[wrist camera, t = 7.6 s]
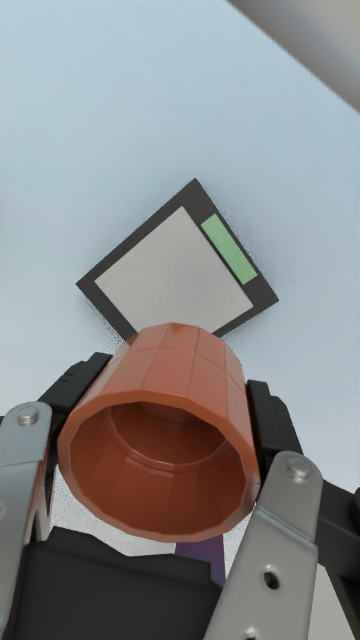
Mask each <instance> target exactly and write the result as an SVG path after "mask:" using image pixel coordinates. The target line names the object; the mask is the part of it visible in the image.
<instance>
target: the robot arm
mask: <svg viewBox="0 0 360 640" xmlns="http://www.w3.org/2000/svg"><path fill="white" fill-rule="evenodd" d="M112 358H113V355H111V354H105V353H99V352H95V353H94V354H93V355H92V356H91V357H90V358H89V360H88V361H87V362H85V361H80V362H78V363H76V364H74V365H72V366H71V367H70V368H69V369H68V370H67V371H66V372H65V373H64V375H62V376H61V377H60V378H59V379H58V381H56V382H55V383H54V384H53V385H52V386H51V387H50V388H49V389H48V390H47V391H46V392H45V393H44V394H43V395H42V396H41V397H40V398H39V399H38V400H37V401H34V402H27V403H23V404H20V405H18V406H16V407H14V408H12V409H11V410H10V411H9V412H7V414H6V415H5V416H0V640H308V632H309V623H310V617H311V609H312V601H313V593H314V586H315V578H316V570H317V563H319V564H320V565H322V566H324V567H325V568H326V571H327V573H328V576H329V578H330V580H331V583H332V585H333V588H334V590H335V592H336V595H337V597H338V599H339V602H340V604H341V607H342V609H343V611H344V614H345V616H346V619H347V621H348V623H349V625H350V628H351V630H352V633H353V635H354V638H355V640H360V487H359V488H358V489H357V490H356V492H355V494H352V493H350V492H348V491H346V490H344V489H341V488H339V487H337V486H335V485H333V484H331V483H329V482H327V481H326V480H324V479H323V478H322V475H321V473H320V471H319V469H318V468H317V467H316V465H315V464H314V463H313V462H312V461H311V460H309V459H308V458H307V457H305V456H304V454H303V452H302V449H301V446H300V443H299V440H298V437H297V435H296V432H295V429H294V426H293V423H292V421H291V418H290V415H289V412H288V409H287V406H286V405H285V404H284V403H283V402H282V401H281V399H280V398H279V397H277V396H271V395H270V392H269V388H268V385H267V383H266V382H261V381H255V380H250V379H249V380H248V381H247V384H246V387H247V393H248V399H249V406H250V412H251V418H252V424H253V430H254V436H255V443H256V449H257V455H258V461H259V468H260V474H261V480H262V481H261V483H262V484H261V487H260V489H259V492H258V495H257V498H256V506H255V507H254V510H253V512H252V515H251V518H250V520H249V523H248V525H247V528H246V531H245V533H244V536H243V538H242V541H241V543H240V546H239V549H238V551H237V554H236V556H235V559H234V562H233V564H232V567H231V569H230V572H229V575H228V577H227V580H226V582H225V585H224V587H223V586H221V585H220V584H219V583H217V582H216V581H214V580H213V579H211V563H210V562H206V561H201V560H197V559H193V558H189V557H184V556H180V555H176V554H172V553H169V554H157V555H144V556H125V555H123V554H122V553H120V552H118V551H117V550H115V549H114V548H112V547H110V546H109V545H107V544H106V543H104V542H102V541H101V540H99V539H97V538H96V537H94V536H93V535H91V534H87V533H82V532H78V531H74V530H70V529H66V528H61V527H57V526H53V528H52V530H51V532H50V521H51V513H52V504H53V496H54V488H55V480H56V466H57V464H58V452H57V438H58V436H59V434H60V432H61V430H62V428H63V426H64V424H65V422H66V420H67V418H68V416H69V414H70V413H71V412H72V410H73V409H74V408H75V406H76V405H77V404H78V402H79V401H80V400H81V398H82V397H83V396H84V395H85V393H86V392H87V391H88V389H89V388H90V387H91V385H92V384H93V383H94V381H95V380H96V379H97V377H98V376H99V375H100V373H101V372H102V371H103V370H104V368H105V367H106V366H107V364H108V363H109V362H110V360H111V359H112Z"/></svg>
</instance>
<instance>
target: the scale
mask: <svg viewBox="0 0 360 640" xmlns="http://www.w3.org/2000/svg"><path fill="white" fill-rule="evenodd" d="M76 285H77V286H78V287H79V289H80V290H81V291H82V292H83V293H84V294H85V296H86V297H87V298H88V299H89V300H90V301H91V302H92V304H93V305H94V306H95V307H96V308H97V309H98V310H99V312H100V313H101V314H102V315H103V316H104V317H105V319H106V320H107V321H108V322H109V323H110V324H111V325H112V327H113V328H114V329H115V330H116V331H117V332H118V334H119V335H120V336H121V337H122V338H123V339H124V340H125V341H126V340H128V339H129V338H130V337H132V336H133V335H135V334H136V333H137V332H139V331H140V330H142V329H143V328H146V327H150V326H155V325H160V324H164V323H169V322H170V323H171V322H175V323H181V324H187V325H193V326H199V328H203V329H204V330H206V331H208V332H209V333H211V334H213V335H215V336H216V337H218V338H220V337H221V336H223V335H225V334H226V333H228V332H229V331H231V330H233V329H234V328H236V327H237V326H239V325H241V324H242V323H244V322H246V321H247V320H249V319H250V318H252V317H254V316H255V315H257V314H258V313H260V312H262V311H263V310H265V309H267V308H268V307H270V306H271V305H273V304H275V303H276V302H278V301H279V299H278V297H277V296H276V294H275V293H274V291H273V290H272V289H271V287H270V286H269V284H268V283H267V281H266V280H265V278H264V277H263V275H262V274H261V272H260V271H259V270H258V268H257V267H256V265H255V264H254V262H253V261H252V259H251V258H250V256H249V255H248V253H247V252H246V251H245V249H244V248H243V246H242V245H241V243H240V242H239V240H238V239H237V237H236V236H235V234H234V233H233V232H232V230H231V229H230V227H229V226H228V224H227V223H226V221H225V220H224V218H223V217H222V215H221V214H220V213H219V211H218V210H217V208H216V207H215V205H214V204H213V202H212V201H211V199H210V198H209V196H208V195H207V194H206V192H205V191H204V189H203V188H202V186H201V185H200V183H199V182H198V180H197V179H196V178H194V179H193V180H192V181H191V182H190V183H188V184H187V185H186V186H185V187H184V188H183V189H182V190H181V191H179V192H178V193H177V194H176V195H175V196H174V197H173V198H172V199H170V200H169V201H168V202H167V203H166V204H165V205H164V206H163V207H161V208H160V209H159V210H158V211H157V212H156V213H155V214H153V215H152V216H151V217H150V218H149V219H148V220H147V221H146V222H144V223H143V224H142V225H141V226H140V227H139V228H138V229H137V230H135V231H134V232H133V233H132V234H131V235H130V236H129V237H128V238H126V239H125V240H124V241H123V242H122V243H121V244H120V245H119V246H117V247H116V248H115V249H114V250H113V251H112V252H111V253H109V254H108V255H107V256H106V257H105V258H104V259H103V260H102V261H100V262H99V263H98V264H97V265H96V266H95V267H94V268H93V269H91V270H90V271H89V272H88V273H87V274H86V275H85V276H84V277H82V278H81V279H80V280H79V281H78V282H77V283H76Z"/></svg>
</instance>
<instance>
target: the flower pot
mask: <svg viewBox="0 0 360 640" xmlns="http://www.w3.org/2000/svg"><path fill="white" fill-rule="evenodd" d="M57 452H58V467H59V471H60V473H61V474H62V476H63V478H64V480H65V482H66V483H67V485H68V487H69V489H70V491H71V492H72V494H73V496H74V497H75V498H76V499H77V500H78V501H79V502H80V503H82V504H83V505H84V506H85V507H86V508H87V509H88V510H89V511H90V512H91V513H93V514H94V515H95V516H96V517H97V518H99V519H100V520H102V521H104V522H106V523H108V524H110V525H112V526H113V527H115V528H117V529H119V530H121V531H123V532H125V533H127V534H130V535H133V536H137V537H141V538H146V539H150V540H154V541H159V542H165V543H176V542H198V541H199V542H200V541H203V540H206V539H209V538H212V537H215V536H218V535H221V534H224V533H227V532H229V531H231V530H232V529H233V528H234V527H235V526H236V525H237V524H239V523H240V522H241V521H242V520H243V519H244V518H245V517H246V516H248V515H249V514H250V513H251V512H252V510H253V507H254V504H255V501H256V498H257V495H258V492H259V489H260V487H261V484H262V483H261V481H262V480H261V474H260V468H259V461H258V455H257V449H256V443H255V436H254V430H253V424H252V418H251V412H250V406H249V399H248V393H247V387H246V382H245V377H244V373H243V369H242V365H241V363H240V360H239V359H238V358H237V357H236V355H235V354H234V353H233V351H232V350H231V349H230V347H229V346H228V345H227V344H226V343H225V342H224V341H223V340H221V339H220V338H218V337H216V336H215V335H213V334H211V333H209V332H208V331H206V330H204V329H203V328H199V326H193V325H187V324H181V323H175V322H171V323H170V322H169V323H164V324H160V325H155V326H150V327H146V328H143V329H142V330H140V331H139V332H137V333H136V334H135V335H133V336H132V337H130V338H129V339H128V340H126V341H125V342H124V343H123V344H122V346H121V347H120V348H119V350H118V351H117V352H116V354H115V355H114V356H113V358H112V359H111V360H110V362H109V363H108V364H107V366H106V367H105V368H104V370H103V371H102V372H101V373H100V375H99V376H98V377H97V379H96V380H95V381H94V383H93V384H92V385H91V387H90V388H89V389H88V391H87V392H86V393H85V395H84V396H83V397H82V398H81V400H80V401H79V402H78V404H77V405H76V406H75V408H74V409H73V410H72V412H71V413H70V414H69V416H68V418H67V420H66V422H65V424H64V426H63V428H62V430H61V432H60V434H59V436H58V438H57Z"/></svg>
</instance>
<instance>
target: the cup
mask: <svg viewBox="0 0 360 640" xmlns="http://www.w3.org/2000/svg"><path fill="white" fill-rule="evenodd" d="M174 554H176V555H180V556H184V557H189V558H193V559H197V560H201V561H206V562H210V563H211V579H213V580H214V581H216V582H217V583H219V584H220V585H221V586H223V587H224V585H225V582H226V576H225V561H224V545H223V534H221V535H218V536H215V537H212V538H209V539H206V540H203V541H200V542H199V541H198V542H177V543H176V548H175V553H174Z"/></svg>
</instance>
